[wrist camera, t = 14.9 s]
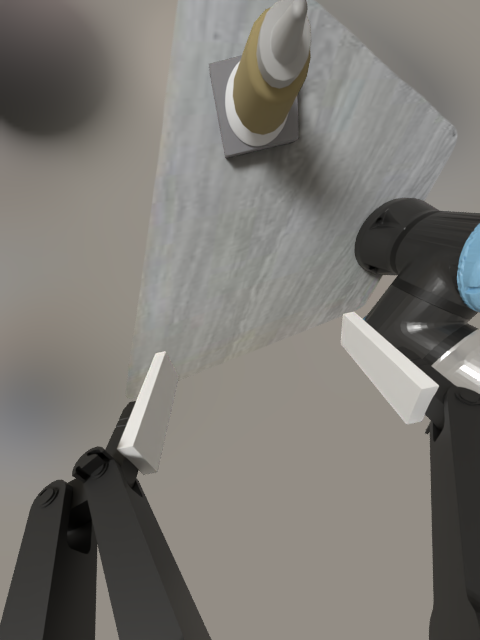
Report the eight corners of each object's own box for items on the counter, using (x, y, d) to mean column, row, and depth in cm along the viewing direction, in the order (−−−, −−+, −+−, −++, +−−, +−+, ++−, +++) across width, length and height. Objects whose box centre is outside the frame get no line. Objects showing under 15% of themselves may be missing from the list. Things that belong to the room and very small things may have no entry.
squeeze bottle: (241, 49, 27) (270, -141, 12) (295, 80, 29) (379, -48, 14) (224, 127, 31) (229, 59, 16) (272, 150, 33) (318, 110, 17)
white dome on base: (290, 52, 29) (297, 38, 27) (294, 141, 35) (300, 137, 32) (209, 72, 30) (208, 60, 27) (225, 158, 35) (225, 155, 32)
